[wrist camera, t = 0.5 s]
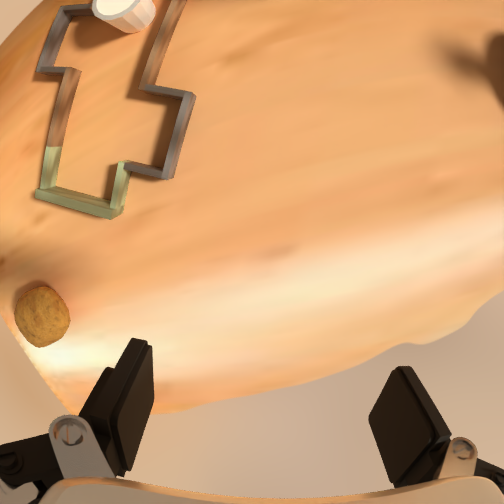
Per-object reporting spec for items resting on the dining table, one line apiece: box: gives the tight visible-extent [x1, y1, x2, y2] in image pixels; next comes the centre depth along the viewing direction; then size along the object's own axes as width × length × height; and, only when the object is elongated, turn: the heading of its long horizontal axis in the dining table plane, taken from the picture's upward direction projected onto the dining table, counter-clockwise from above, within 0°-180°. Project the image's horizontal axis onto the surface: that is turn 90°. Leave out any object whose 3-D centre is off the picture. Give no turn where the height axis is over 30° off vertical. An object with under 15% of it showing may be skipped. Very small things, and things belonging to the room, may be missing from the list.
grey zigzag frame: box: [35, 0, 196, 220], centre depth 31 cm, size 32×24×4 cm
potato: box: [14, 286, 70, 348], centre depth 40 cm, size 9×13×7 cm
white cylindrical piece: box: [92, 0, 156, 33], centre depth 27 cm, size 7×7×7 cm
